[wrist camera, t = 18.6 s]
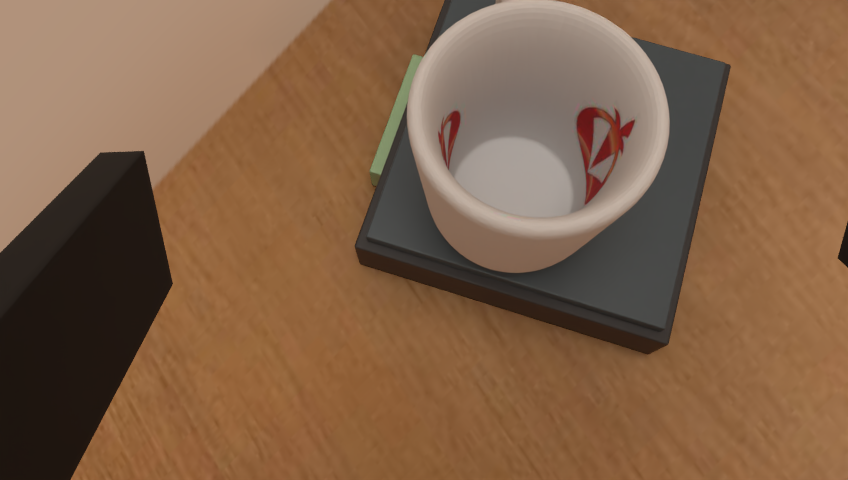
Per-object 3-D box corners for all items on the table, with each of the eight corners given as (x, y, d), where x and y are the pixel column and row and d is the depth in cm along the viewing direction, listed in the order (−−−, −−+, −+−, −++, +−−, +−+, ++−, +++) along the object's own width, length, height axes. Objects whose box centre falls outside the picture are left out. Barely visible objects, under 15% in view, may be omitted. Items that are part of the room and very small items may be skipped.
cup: (409, 54, 31) (405, -78, 24) (593, 51, 31) (648, -81, 24) (412, 298, 28) (407, 237, 21) (617, 296, 28) (688, 232, 21)
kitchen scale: (346, 259, 32) (338, 238, 29) (435, 17, 36) (436, -25, 33) (648, 354, 31) (673, 342, 28) (709, 93, 34) (737, 56, 31)
